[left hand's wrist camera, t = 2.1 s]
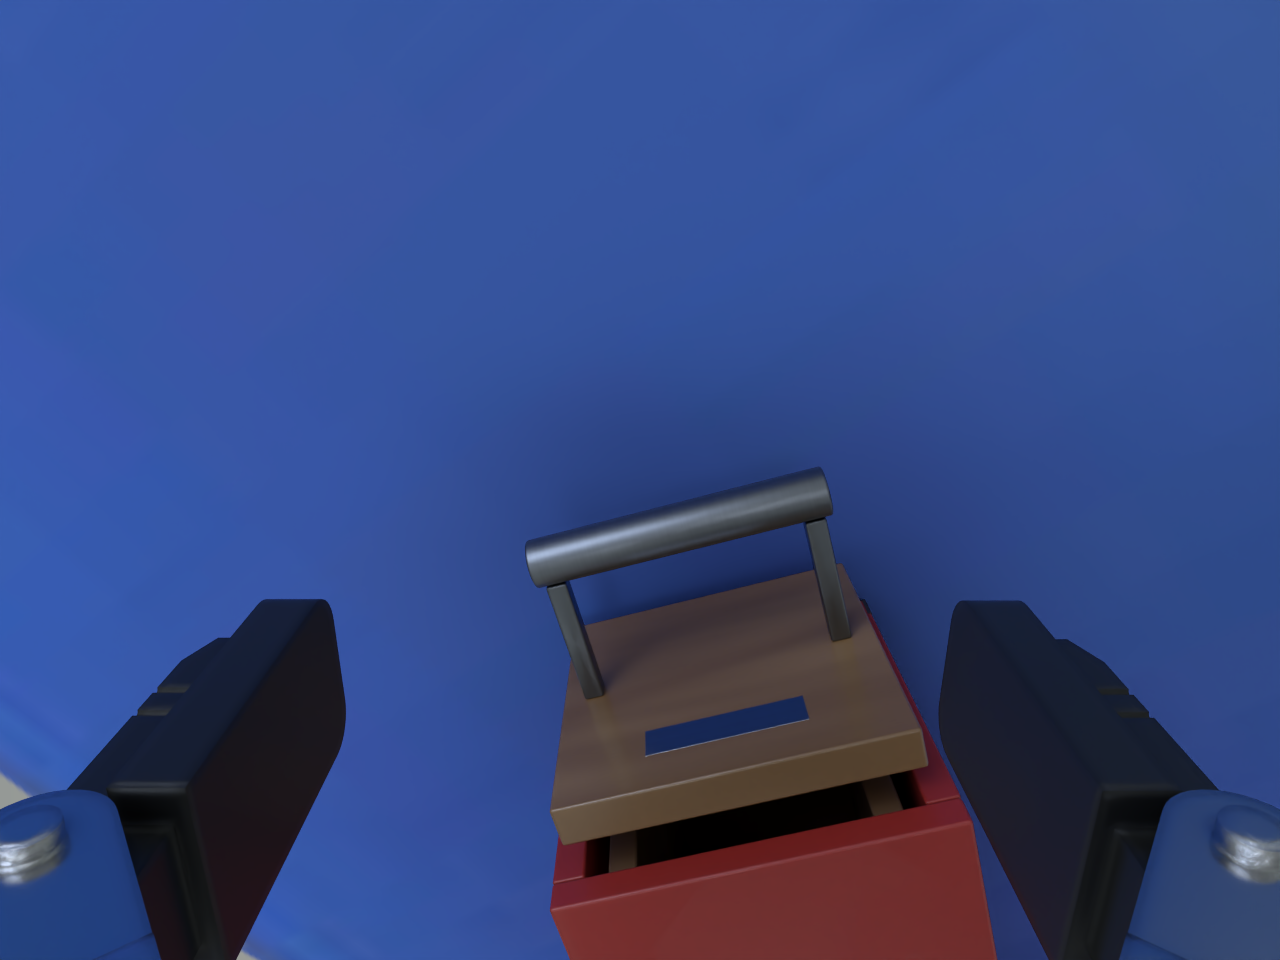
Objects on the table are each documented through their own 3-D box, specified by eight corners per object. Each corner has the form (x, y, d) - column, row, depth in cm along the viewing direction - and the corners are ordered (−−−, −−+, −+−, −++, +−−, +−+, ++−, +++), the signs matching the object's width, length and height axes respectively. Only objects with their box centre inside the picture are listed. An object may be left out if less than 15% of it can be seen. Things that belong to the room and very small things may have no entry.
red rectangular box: (577, 667, 32) (547, 911, 22) (864, 599, 31) (974, 821, 21) (699, 1012, 39) (720, 1327, 28) (941, 965, 37) (1054, 1274, 27)
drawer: (527, 490, 29) (479, 635, 20) (810, 417, 28) (884, 536, 19) (695, 974, 36) (711, 1225, 28) (921, 929, 36) (1009, 1175, 27)
